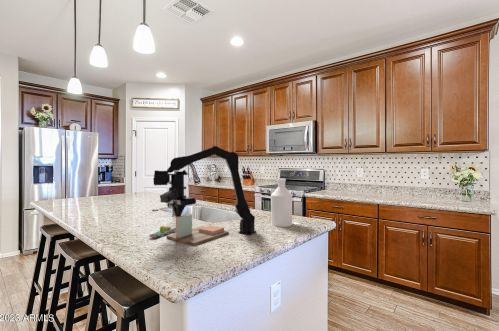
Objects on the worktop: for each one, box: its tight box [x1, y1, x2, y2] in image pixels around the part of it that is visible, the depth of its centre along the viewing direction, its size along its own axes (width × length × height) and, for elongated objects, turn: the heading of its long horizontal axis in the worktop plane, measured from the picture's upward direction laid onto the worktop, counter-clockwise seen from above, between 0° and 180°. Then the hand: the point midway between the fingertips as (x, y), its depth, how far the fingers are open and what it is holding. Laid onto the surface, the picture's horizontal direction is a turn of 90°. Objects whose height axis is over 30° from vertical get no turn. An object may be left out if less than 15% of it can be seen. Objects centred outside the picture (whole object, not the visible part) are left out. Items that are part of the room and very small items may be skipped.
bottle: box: [270, 178, 293, 228], centre depth 147 cm, size 12×12×25 cm
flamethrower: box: [149, 225, 176, 239], centre depth 134 cm, size 29×3×10 cm
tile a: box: [199, 225, 225, 235], centre depth 128 cm, size 2×8×9 cm
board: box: [166, 226, 230, 246], centre depth 124 cm, size 18×22×1 cm
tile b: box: [175, 213, 193, 238], centre depth 121 cm, size 2×8×9 cm, turn 144°
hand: (178, 218), depth 124 cm, fingers closed
